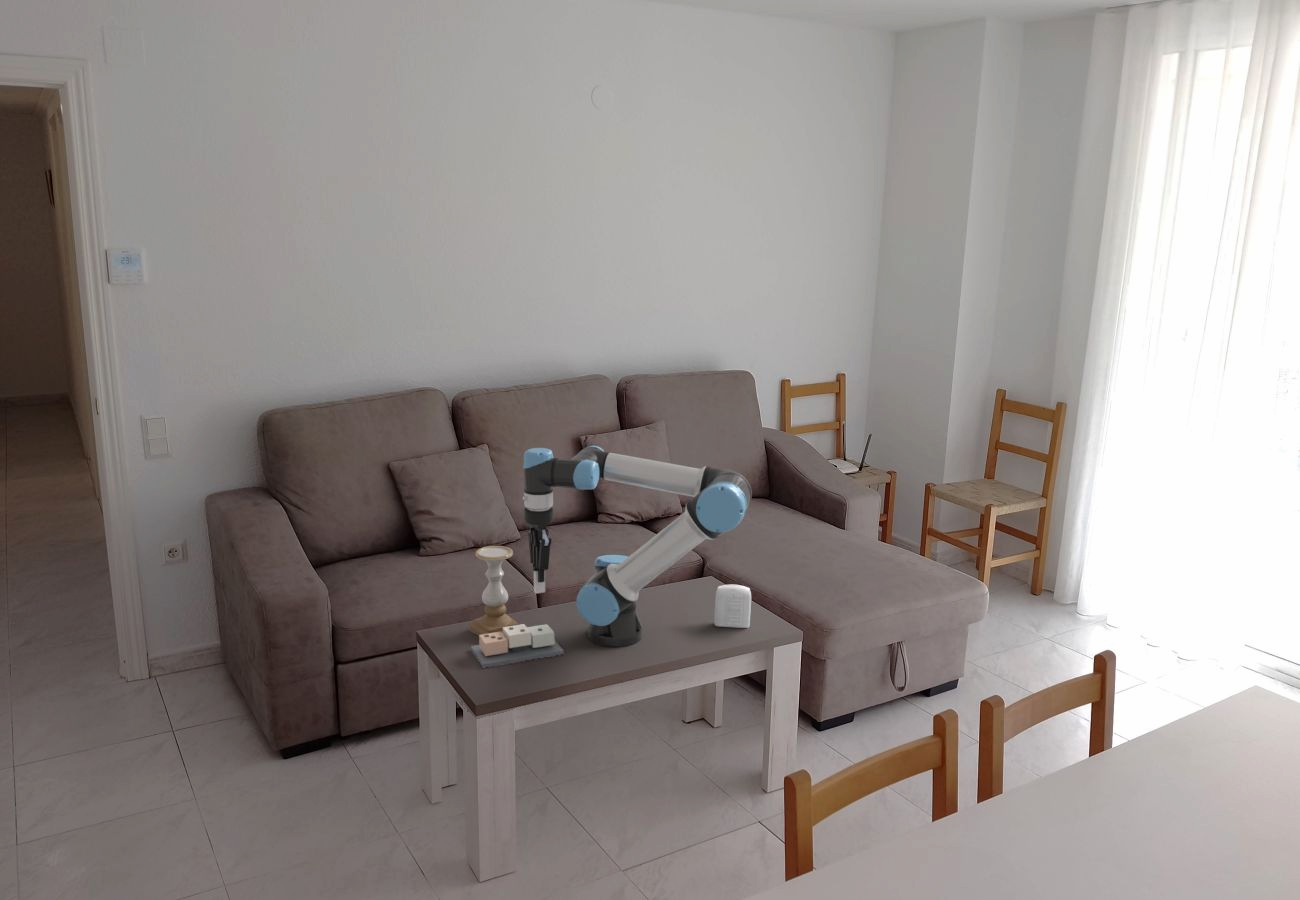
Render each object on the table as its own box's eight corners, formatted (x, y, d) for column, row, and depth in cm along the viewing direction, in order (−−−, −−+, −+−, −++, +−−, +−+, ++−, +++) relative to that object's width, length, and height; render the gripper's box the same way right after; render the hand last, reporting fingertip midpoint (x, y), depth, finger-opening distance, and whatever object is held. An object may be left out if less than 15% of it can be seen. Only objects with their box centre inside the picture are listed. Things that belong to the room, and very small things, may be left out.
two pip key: (524, 636, 277) (524, 623, 276) (531, 644, 271) (531, 631, 271) (502, 639, 274) (502, 626, 273) (509, 648, 269) (509, 635, 268)
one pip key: (547, 636, 280) (547, 623, 279) (554, 644, 274) (554, 631, 273) (526, 639, 277) (525, 626, 276) (533, 648, 272) (533, 635, 271)
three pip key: (501, 643, 274) (500, 630, 273) (507, 652, 269) (507, 639, 268) (479, 647, 272) (479, 634, 271) (485, 656, 267) (485, 642, 266)
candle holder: (468, 630, 287) (466, 549, 282) (503, 621, 294) (501, 542, 288) (488, 643, 279) (486, 560, 273) (522, 634, 285) (521, 553, 280)
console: (548, 637, 283) (548, 624, 282) (563, 654, 273) (563, 641, 272) (471, 650, 274) (470, 637, 273) (483, 668, 264) (483, 654, 263)
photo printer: (749, 623, 296) (751, 583, 293) (750, 629, 292) (751, 588, 289) (714, 621, 296) (715, 581, 294) (714, 627, 292) (715, 587, 289)
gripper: (517, 502, 271) (518, 585, 277) (533, 515, 260) (534, 602, 265) (543, 499, 274) (544, 582, 280) (560, 512, 263) (561, 598, 268)
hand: (539, 591), depth 273 cm, fingers closed
